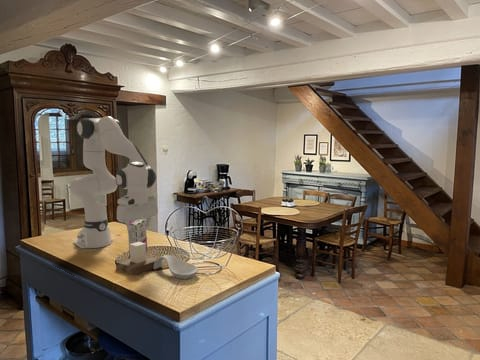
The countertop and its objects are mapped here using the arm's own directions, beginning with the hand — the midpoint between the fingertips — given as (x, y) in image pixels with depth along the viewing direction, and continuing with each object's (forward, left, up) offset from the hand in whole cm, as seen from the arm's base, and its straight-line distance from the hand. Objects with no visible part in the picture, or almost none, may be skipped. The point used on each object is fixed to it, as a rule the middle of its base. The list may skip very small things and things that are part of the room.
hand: (138, 228), depth 163 cm
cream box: (0, 0, -15) cm, 15 cm away
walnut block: (-1, 0, -19) cm, 19 cm away
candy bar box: (-20, +14, -19) cm, 31 cm away
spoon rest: (+18, +5, -19) cm, 27 cm away
